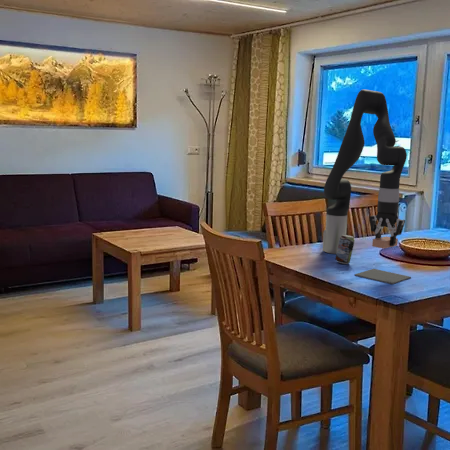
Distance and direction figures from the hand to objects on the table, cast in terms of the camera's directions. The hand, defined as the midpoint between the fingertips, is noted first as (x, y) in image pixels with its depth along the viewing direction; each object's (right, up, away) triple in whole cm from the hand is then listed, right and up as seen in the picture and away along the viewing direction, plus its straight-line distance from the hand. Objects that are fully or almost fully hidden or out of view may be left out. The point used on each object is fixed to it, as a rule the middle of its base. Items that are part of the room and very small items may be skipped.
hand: (385, 244), depth 217 cm
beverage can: (-11, -9, +22) cm, 26 cm away
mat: (0, -12, +2) cm, 13 cm away
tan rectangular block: (0, -1, 0) cm, 1 cm away
